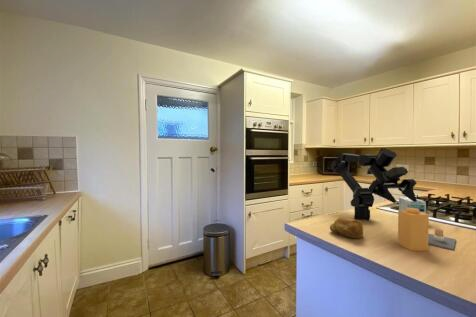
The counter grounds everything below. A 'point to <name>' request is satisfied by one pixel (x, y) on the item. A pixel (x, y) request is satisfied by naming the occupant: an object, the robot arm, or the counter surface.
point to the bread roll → (347, 228)
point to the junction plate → (442, 244)
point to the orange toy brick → (413, 229)
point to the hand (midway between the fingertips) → (405, 201)
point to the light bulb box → (412, 204)
